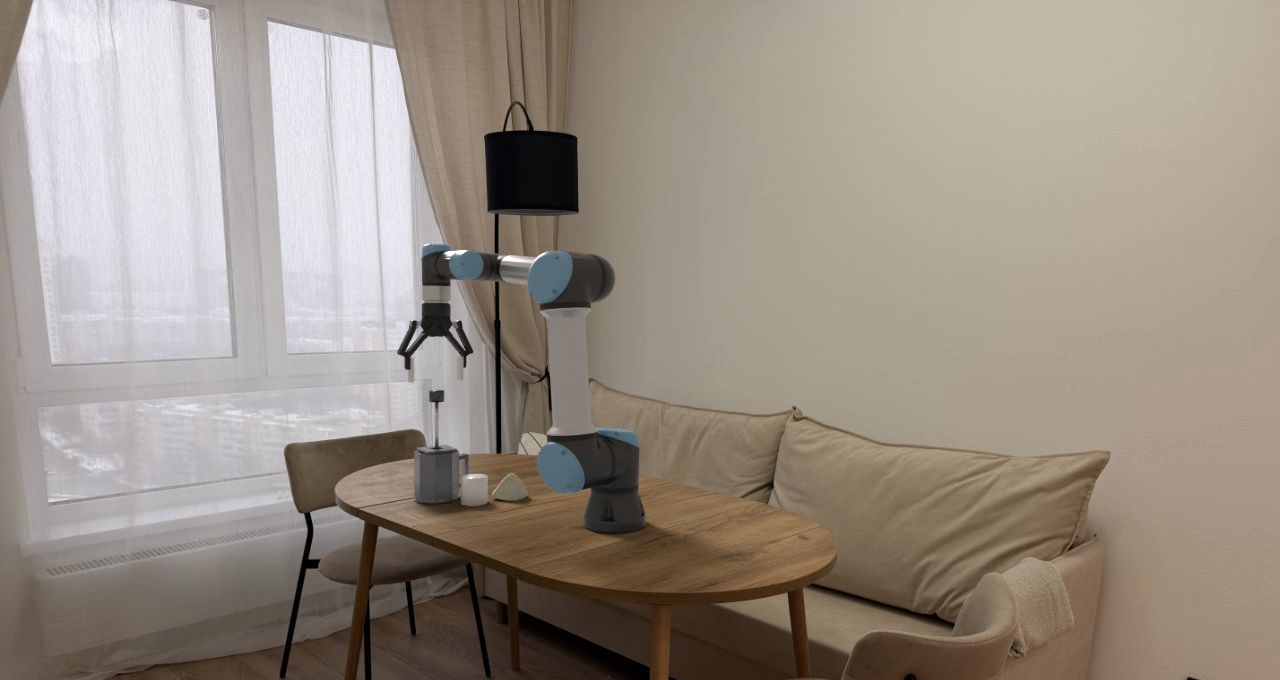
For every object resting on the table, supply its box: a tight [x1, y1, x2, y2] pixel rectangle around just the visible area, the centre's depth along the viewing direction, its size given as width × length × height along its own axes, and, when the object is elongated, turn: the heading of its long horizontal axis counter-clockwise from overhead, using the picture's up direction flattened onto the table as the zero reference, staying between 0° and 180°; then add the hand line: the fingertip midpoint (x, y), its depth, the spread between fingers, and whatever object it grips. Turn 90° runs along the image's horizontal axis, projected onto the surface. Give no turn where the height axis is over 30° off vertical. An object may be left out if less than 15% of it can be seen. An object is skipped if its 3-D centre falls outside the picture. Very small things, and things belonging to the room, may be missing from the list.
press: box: [413, 444, 469, 505], centre depth 208 cm, size 11×14×14 cm
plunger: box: [428, 389, 445, 455], centre depth 207 cm, size 8×8×19 cm
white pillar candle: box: [460, 473, 489, 507], centre depth 204 cm, size 7×7×7 cm
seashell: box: [490, 472, 529, 502], centre depth 209 cm, size 8×8×8 cm
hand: (436, 381), depth 206 cm, fingers open, 13 cm apart
